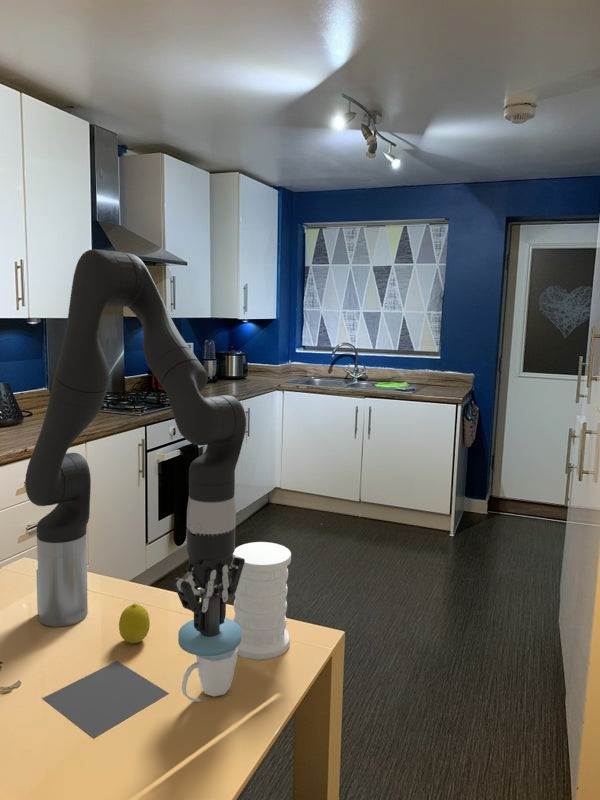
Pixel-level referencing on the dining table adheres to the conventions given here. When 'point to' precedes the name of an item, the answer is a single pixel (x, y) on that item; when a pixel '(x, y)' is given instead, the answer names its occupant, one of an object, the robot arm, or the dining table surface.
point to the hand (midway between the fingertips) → (209, 626)
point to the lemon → (134, 623)
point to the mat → (105, 698)
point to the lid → (210, 633)
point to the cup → (213, 673)
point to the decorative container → (262, 600)
